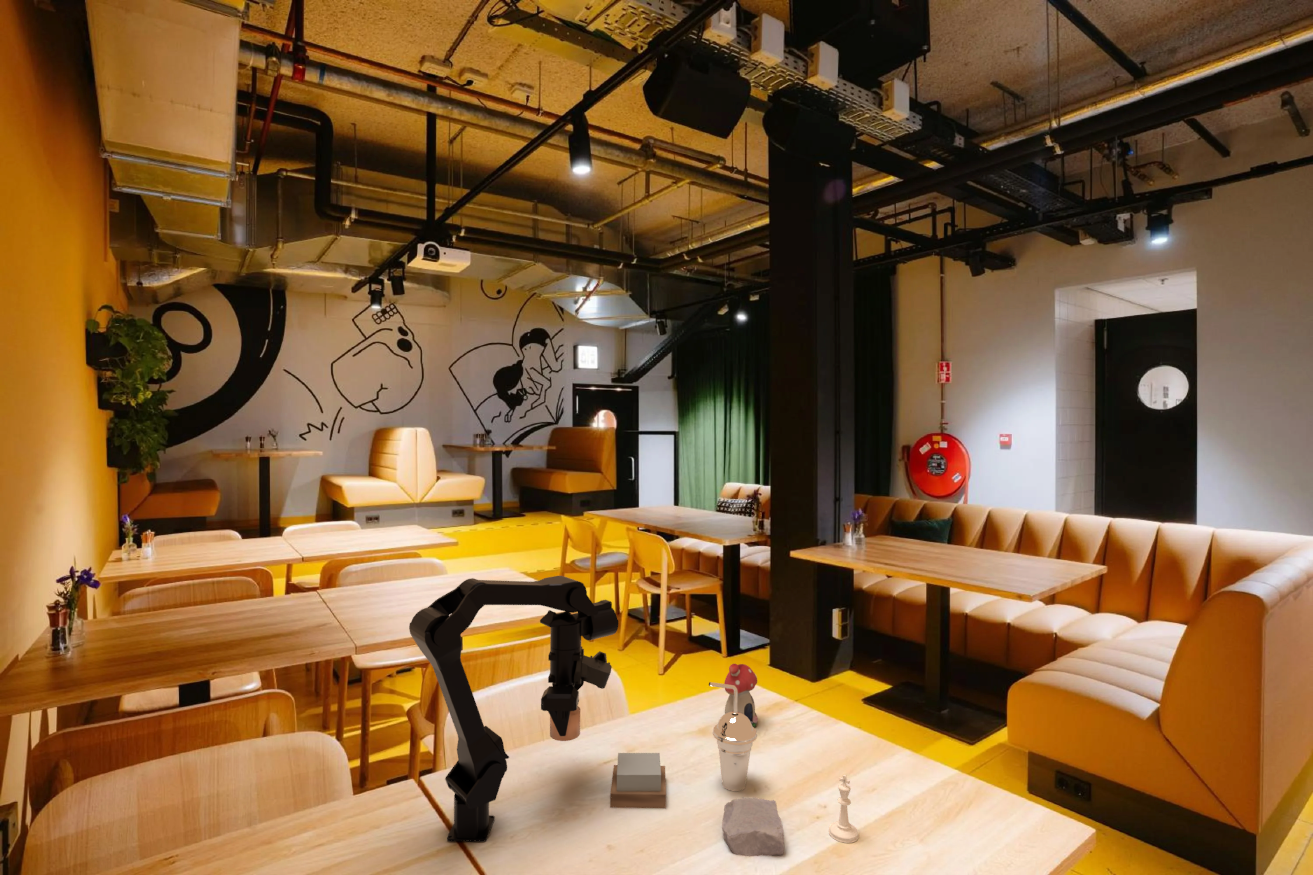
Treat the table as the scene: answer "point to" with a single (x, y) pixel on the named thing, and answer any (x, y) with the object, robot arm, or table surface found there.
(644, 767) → the top slab
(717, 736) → the cup with straw
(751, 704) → the decorative ornament
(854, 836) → the chess piece
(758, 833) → the stone block
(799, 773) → the table surface
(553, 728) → the cylinder
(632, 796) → the base slab
